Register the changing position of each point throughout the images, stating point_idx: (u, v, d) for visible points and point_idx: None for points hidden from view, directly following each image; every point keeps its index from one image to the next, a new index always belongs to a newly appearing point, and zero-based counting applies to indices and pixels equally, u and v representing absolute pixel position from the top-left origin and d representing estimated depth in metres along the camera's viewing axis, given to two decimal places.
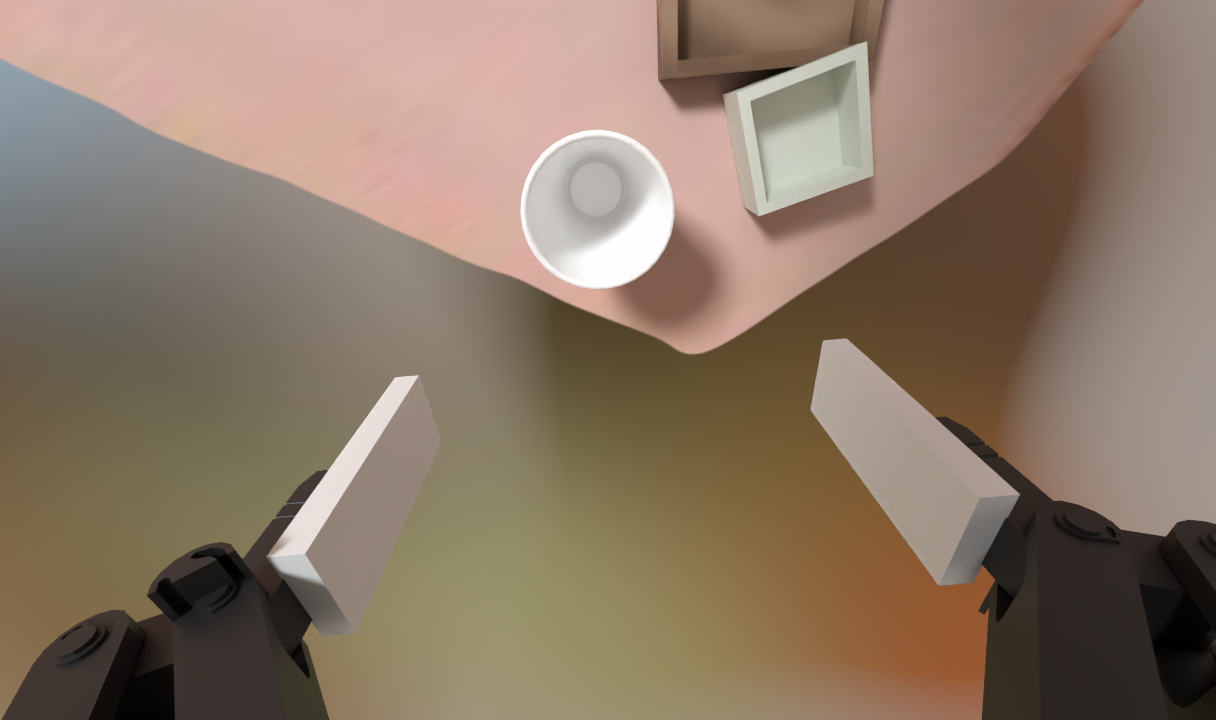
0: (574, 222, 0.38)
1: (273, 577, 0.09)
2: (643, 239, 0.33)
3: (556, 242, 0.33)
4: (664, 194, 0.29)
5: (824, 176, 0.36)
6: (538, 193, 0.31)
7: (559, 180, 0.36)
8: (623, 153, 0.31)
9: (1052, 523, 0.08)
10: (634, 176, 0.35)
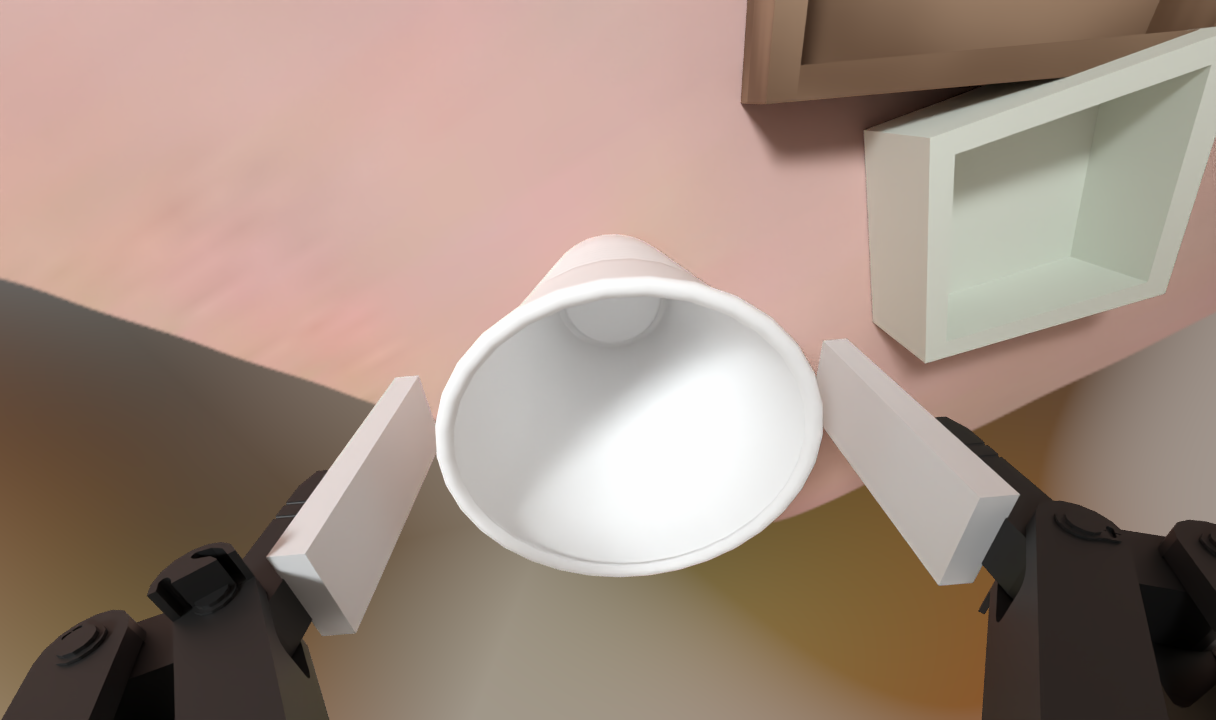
0: (572, 359, 0.21)
1: (273, 577, 0.09)
2: (715, 440, 0.16)
3: (535, 443, 0.16)
4: (789, 395, 0.12)
5: (1050, 287, 0.19)
6: (490, 369, 0.14)
7: None
8: None
9: (1052, 523, 0.08)
10: None
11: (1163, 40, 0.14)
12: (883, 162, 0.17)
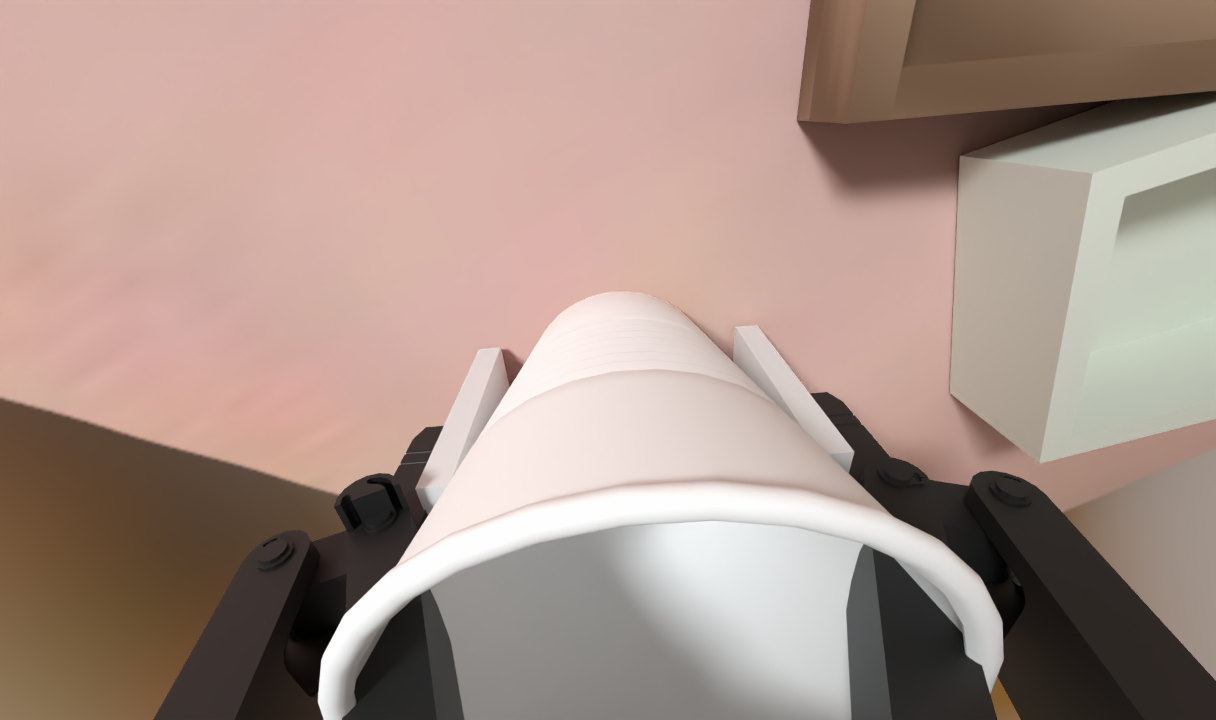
0: None
1: (416, 509, 0.10)
2: (770, 600, 0.11)
3: (513, 599, 0.11)
4: None
5: (1205, 362, 0.14)
6: None
7: None
8: None
9: (876, 478, 0.09)
10: None
11: None
12: (992, 200, 0.12)
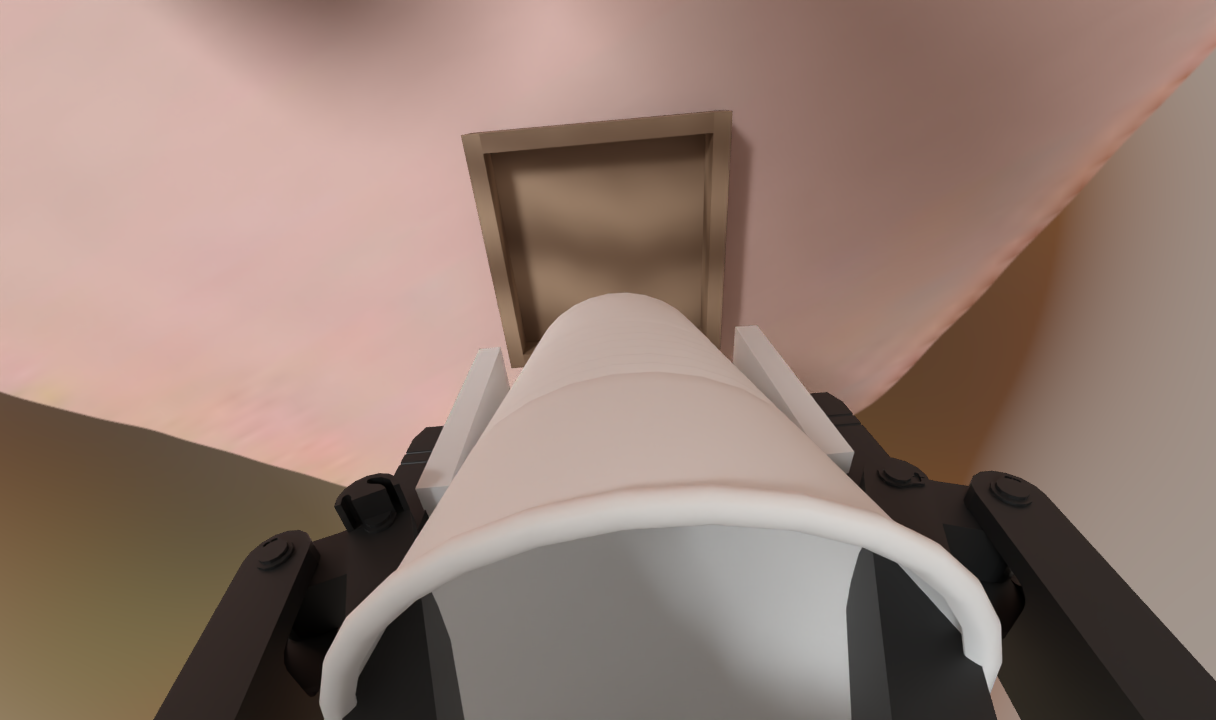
0: None
1: (416, 509, 0.10)
2: (770, 601, 0.11)
3: (514, 601, 0.11)
4: None
5: None
6: None
7: None
8: None
9: (876, 478, 0.09)
10: None
11: None
12: None
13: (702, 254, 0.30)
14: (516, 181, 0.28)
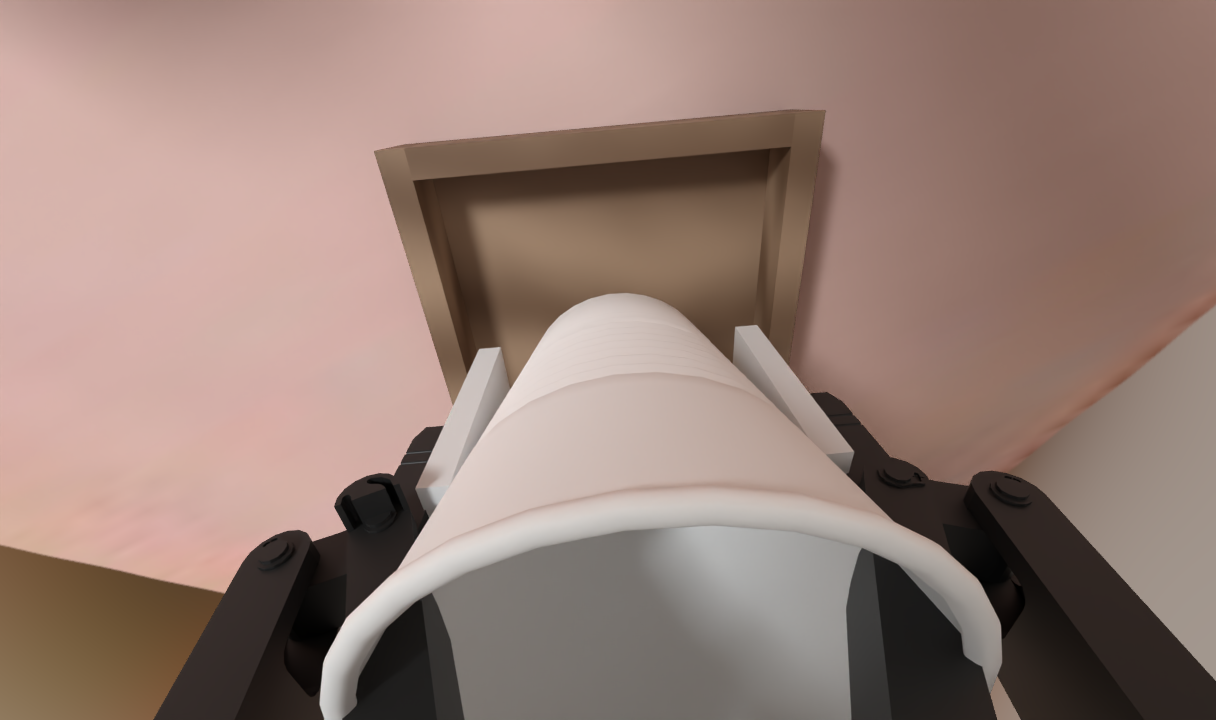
0: None
1: (416, 509, 0.10)
2: (770, 601, 0.11)
3: (514, 601, 0.11)
4: None
5: None
6: None
7: None
8: None
9: (876, 478, 0.09)
10: None
11: None
12: None
13: (755, 321, 0.20)
14: (475, 218, 0.18)
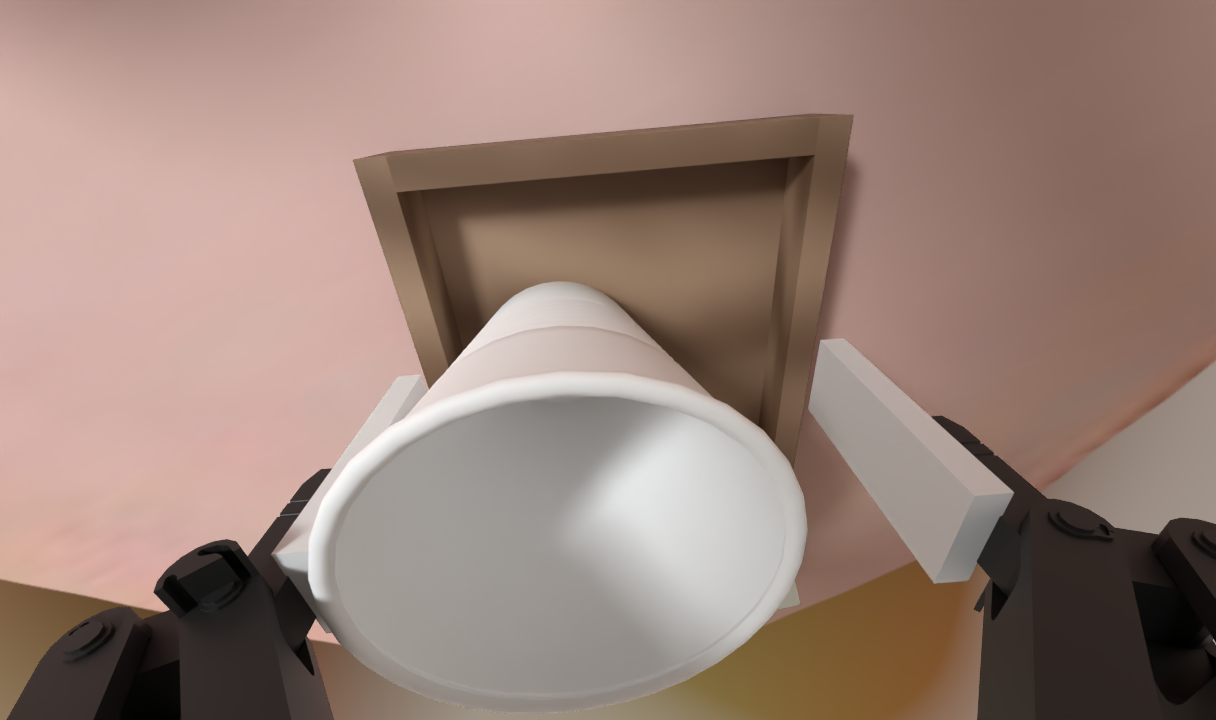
0: (522, 423, 0.18)
1: (278, 574, 0.09)
2: (685, 517, 0.13)
3: (473, 541, 0.13)
4: (762, 478, 0.10)
5: None
6: (401, 471, 0.11)
7: None
8: None
9: (1046, 521, 0.08)
10: None
11: None
12: None
13: (769, 341, 0.19)
14: (467, 231, 0.16)
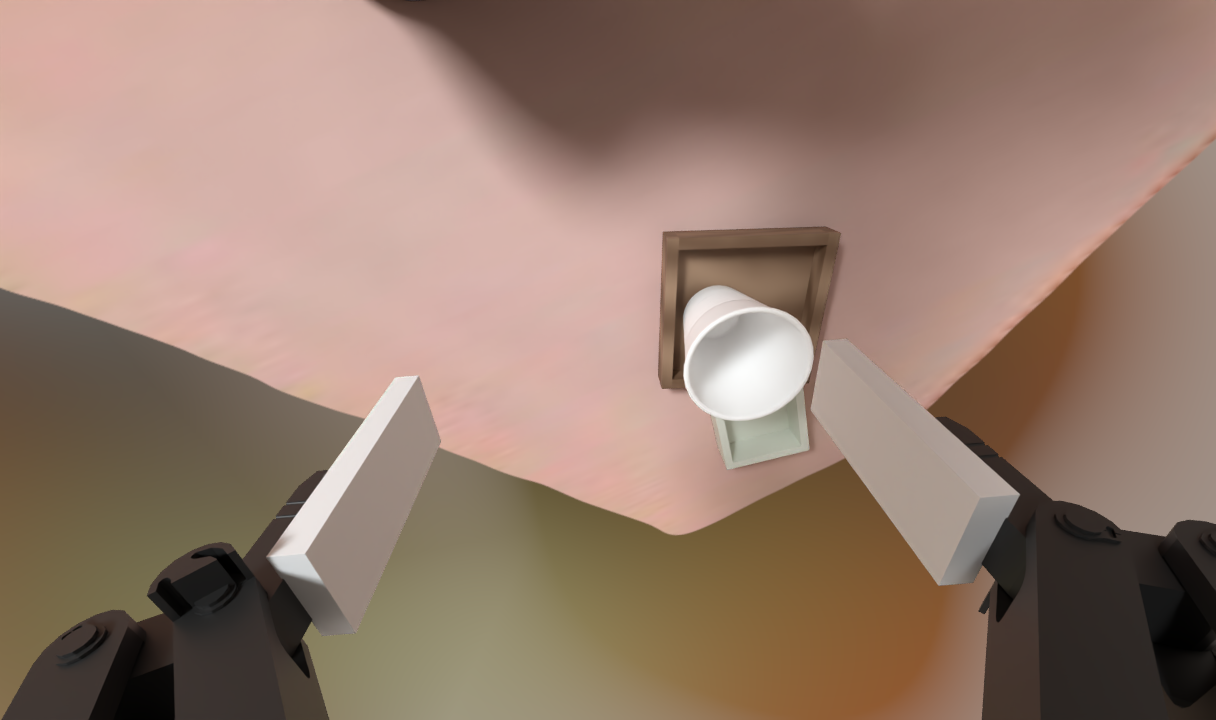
0: None
1: (273, 577, 0.09)
2: (770, 372, 0.38)
3: (695, 374, 0.38)
4: (801, 347, 0.34)
5: (775, 442, 0.49)
6: (688, 340, 0.36)
7: (688, 312, 0.41)
8: None
9: (1052, 523, 0.08)
10: None
11: None
12: None
13: (803, 316, 0.44)
14: (687, 263, 0.41)
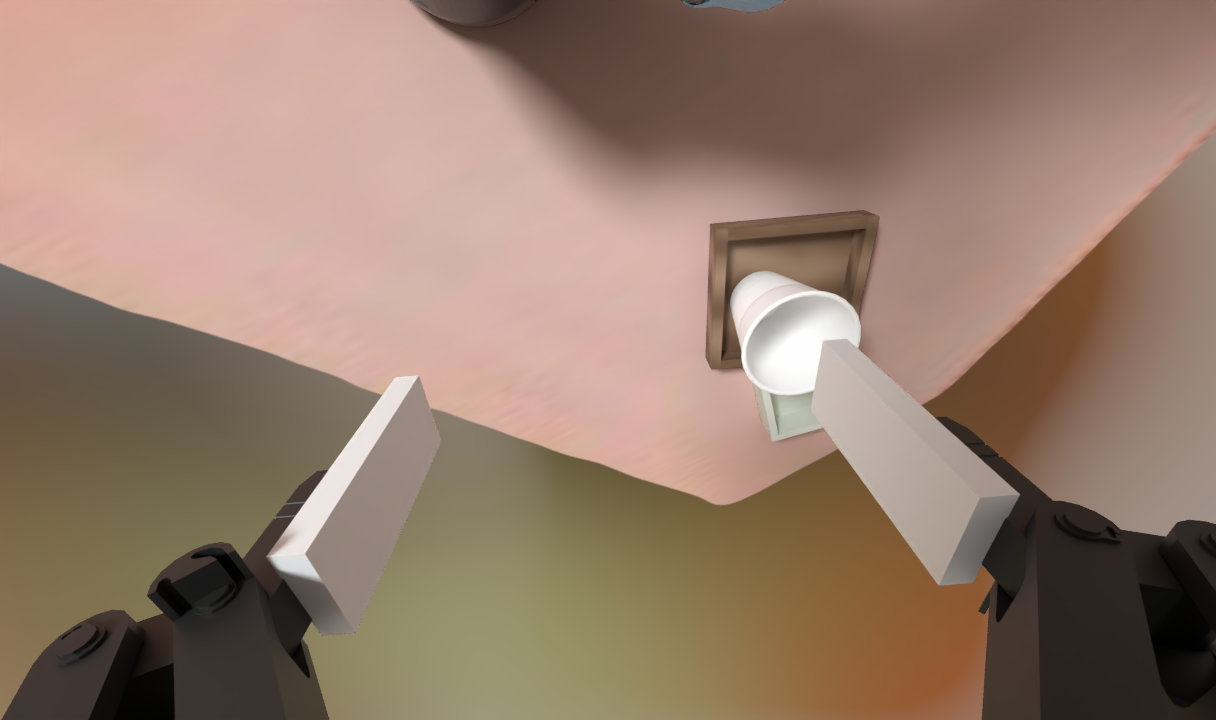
0: None
1: (273, 577, 0.09)
2: (817, 349, 0.41)
3: (747, 354, 0.42)
4: (849, 325, 0.38)
5: None
6: (742, 324, 0.39)
7: None
8: None
9: (1052, 523, 0.08)
10: None
11: None
12: None
13: (842, 296, 0.47)
14: (734, 252, 0.44)
